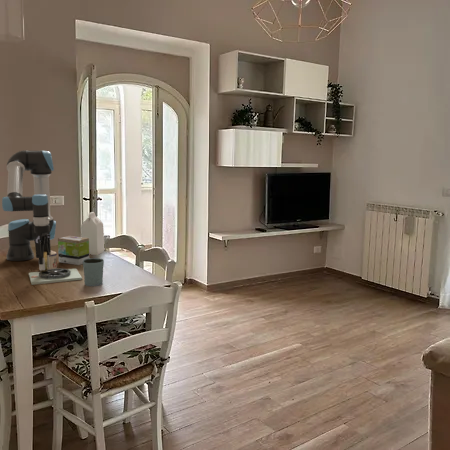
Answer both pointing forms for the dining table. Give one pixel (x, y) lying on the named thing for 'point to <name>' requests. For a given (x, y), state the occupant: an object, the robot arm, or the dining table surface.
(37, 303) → the dining table surface
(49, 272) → the handwheel
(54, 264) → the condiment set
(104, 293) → the dining table surface
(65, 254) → the tea box
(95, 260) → the grey blue cup
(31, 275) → the board
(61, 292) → the dining table surface
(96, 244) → the milk
